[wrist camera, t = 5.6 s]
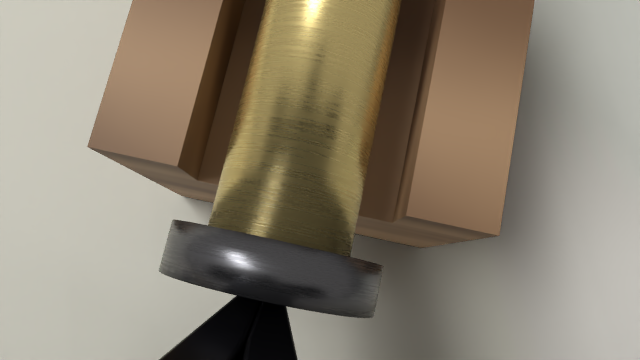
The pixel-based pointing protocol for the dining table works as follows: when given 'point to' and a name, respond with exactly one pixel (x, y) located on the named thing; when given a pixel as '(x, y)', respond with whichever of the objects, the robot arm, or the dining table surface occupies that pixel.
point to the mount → (392, 125)
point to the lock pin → (297, 163)
